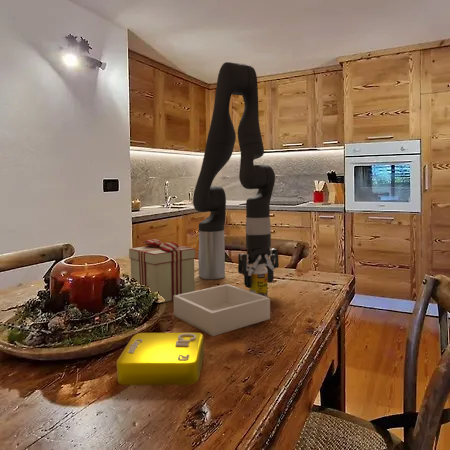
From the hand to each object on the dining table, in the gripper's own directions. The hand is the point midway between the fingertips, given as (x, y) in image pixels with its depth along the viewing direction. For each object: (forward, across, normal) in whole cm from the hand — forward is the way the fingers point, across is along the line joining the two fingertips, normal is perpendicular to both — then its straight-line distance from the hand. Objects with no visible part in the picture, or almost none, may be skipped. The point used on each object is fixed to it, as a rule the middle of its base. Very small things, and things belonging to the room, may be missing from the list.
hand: (259, 284), depth 124 cm
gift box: (+4, +21, -21) cm, 30 cm away
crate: (+4, +20, +8) cm, 22 cm away
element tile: (+5, +45, +22) cm, 50 cm away
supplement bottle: (+4, 0, 0) cm, 4 cm away
